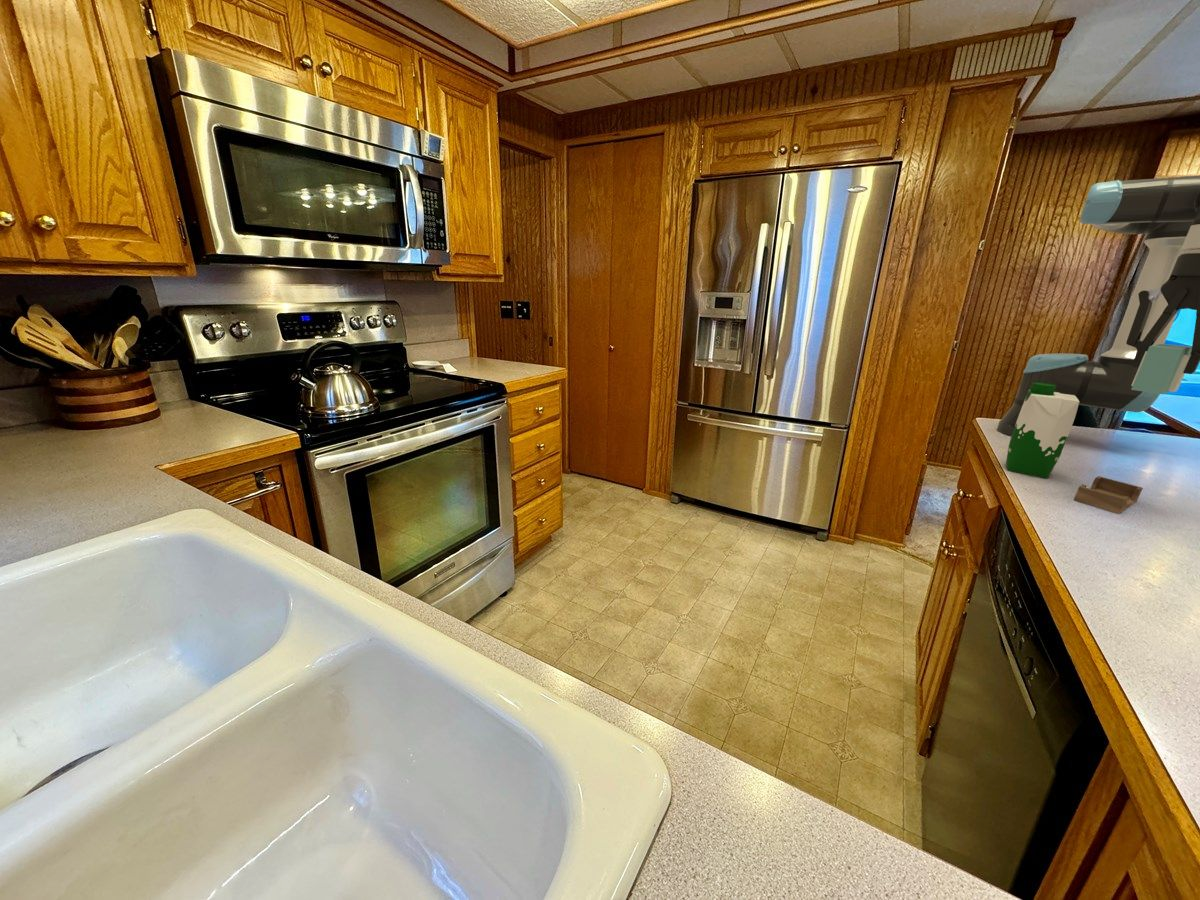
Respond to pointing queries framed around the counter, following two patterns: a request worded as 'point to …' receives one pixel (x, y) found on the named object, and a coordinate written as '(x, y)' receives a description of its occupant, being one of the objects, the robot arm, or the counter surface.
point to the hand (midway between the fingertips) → (1153, 387)
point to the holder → (1108, 494)
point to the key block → (1159, 368)
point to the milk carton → (1041, 430)
